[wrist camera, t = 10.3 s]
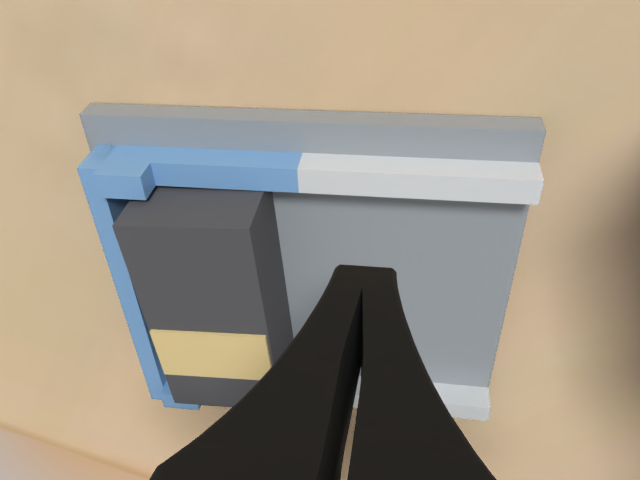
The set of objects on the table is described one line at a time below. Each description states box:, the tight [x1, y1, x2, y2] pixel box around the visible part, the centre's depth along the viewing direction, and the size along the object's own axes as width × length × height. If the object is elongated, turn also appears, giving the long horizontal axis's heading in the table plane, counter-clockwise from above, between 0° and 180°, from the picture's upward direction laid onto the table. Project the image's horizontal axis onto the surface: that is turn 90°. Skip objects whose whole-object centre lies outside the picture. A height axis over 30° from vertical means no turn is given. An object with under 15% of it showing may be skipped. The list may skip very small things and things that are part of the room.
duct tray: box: [77, 103, 546, 421], centre depth 26 cm, size 17×16×3 cm
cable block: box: [112, 186, 294, 407], centre depth 25 cm, size 5×10×4 cm, turn 4°
